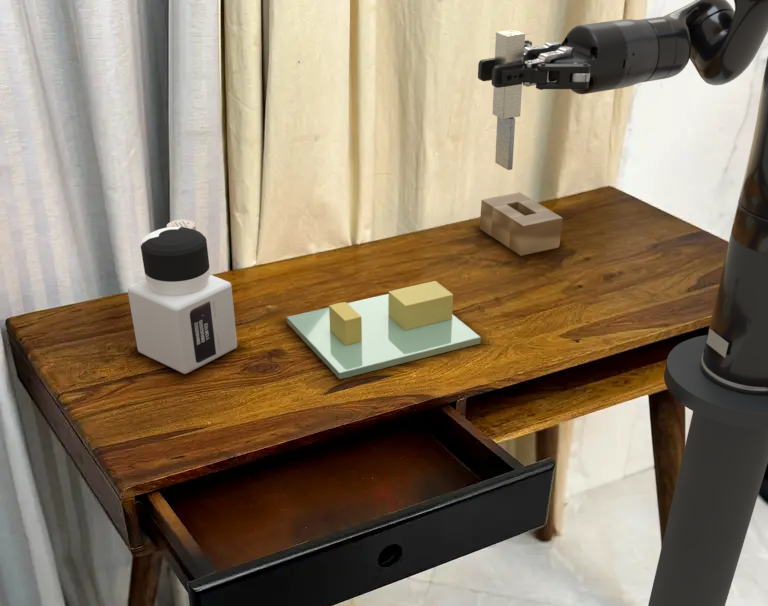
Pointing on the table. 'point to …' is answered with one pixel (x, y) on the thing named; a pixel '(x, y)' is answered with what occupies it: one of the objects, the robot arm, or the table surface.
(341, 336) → the block
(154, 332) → the container
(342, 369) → the butter board
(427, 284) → the butter block
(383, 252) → the table surface
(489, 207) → the knife stand
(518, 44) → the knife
